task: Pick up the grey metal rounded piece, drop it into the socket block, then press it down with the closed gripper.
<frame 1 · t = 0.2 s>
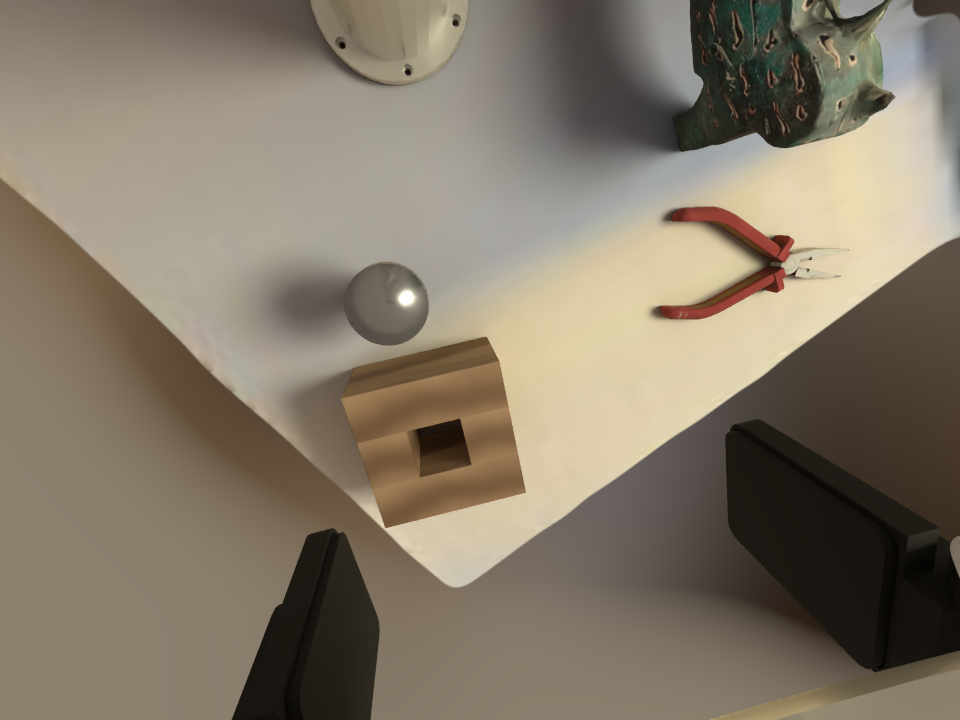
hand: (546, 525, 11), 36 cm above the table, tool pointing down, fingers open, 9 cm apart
socket block: (436, 411, 48), on the table
pliers: (735, 276, 48), on the table
ceramic cat: (673, 53, 40), on the table
grey metal rounded piece: (393, 288, 44), on the table
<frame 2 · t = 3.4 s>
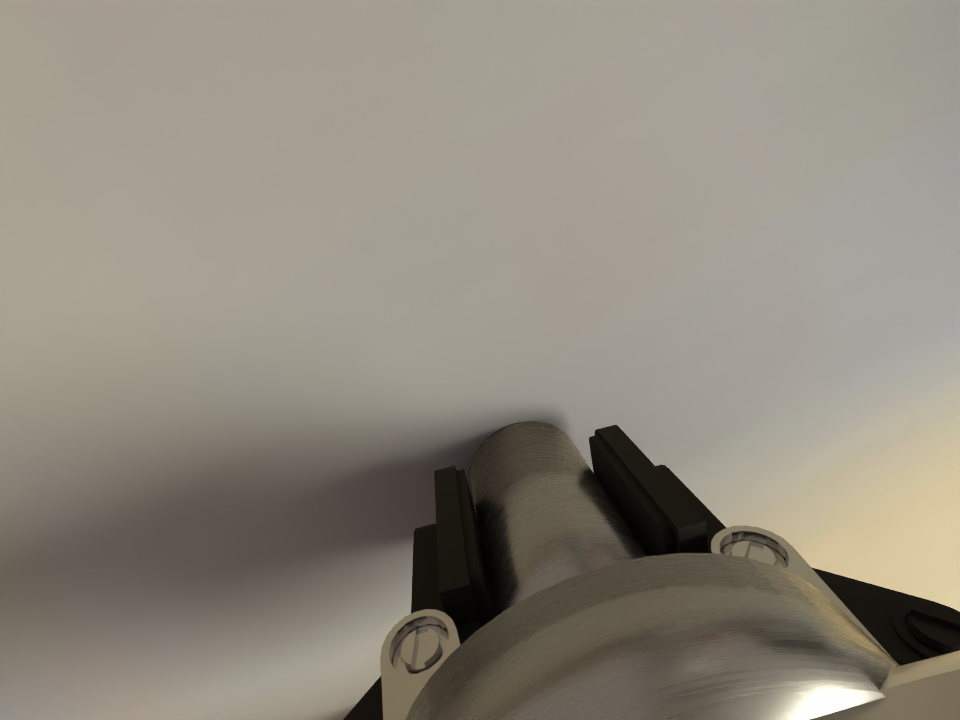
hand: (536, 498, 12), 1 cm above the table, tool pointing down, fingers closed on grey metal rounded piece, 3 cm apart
grey metal rounded piece: (525, 472, 13), on the table, touching gripper
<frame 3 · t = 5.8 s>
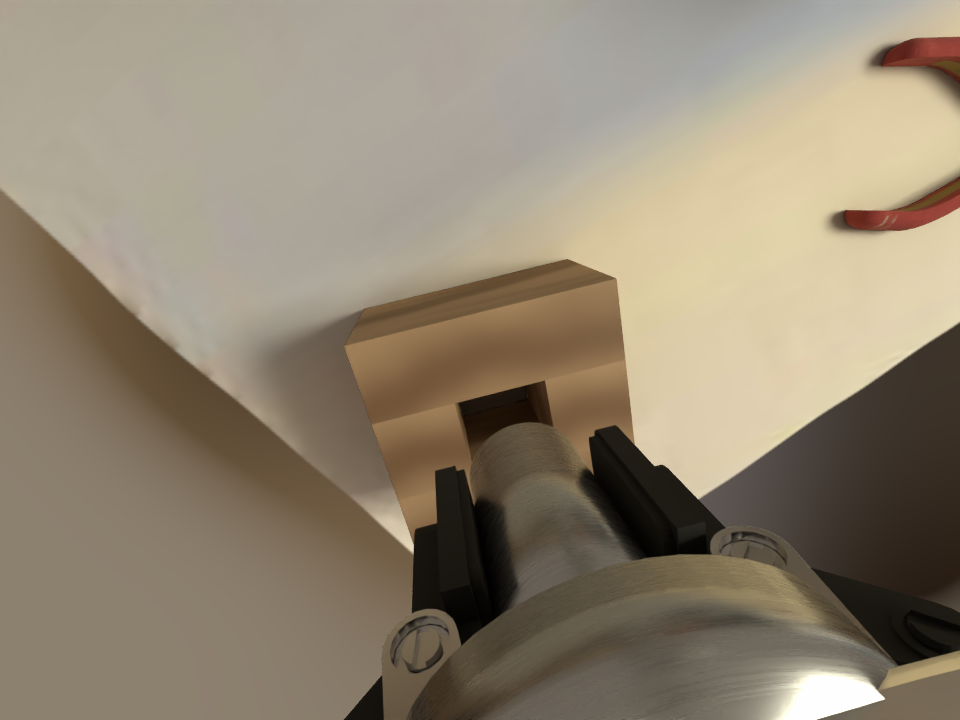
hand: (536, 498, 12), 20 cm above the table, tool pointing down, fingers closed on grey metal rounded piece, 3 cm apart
socket block: (488, 378, 32), on the table
pliers: (956, 166, 32), on the table
grey metal rounded piece: (525, 473, 13), point 19 cm above the table, touching gripper
when the fingers open (10 cm above the table, at t = 8.1 s): grey metal rounded piece stays where it is, point 8 cm above the table.
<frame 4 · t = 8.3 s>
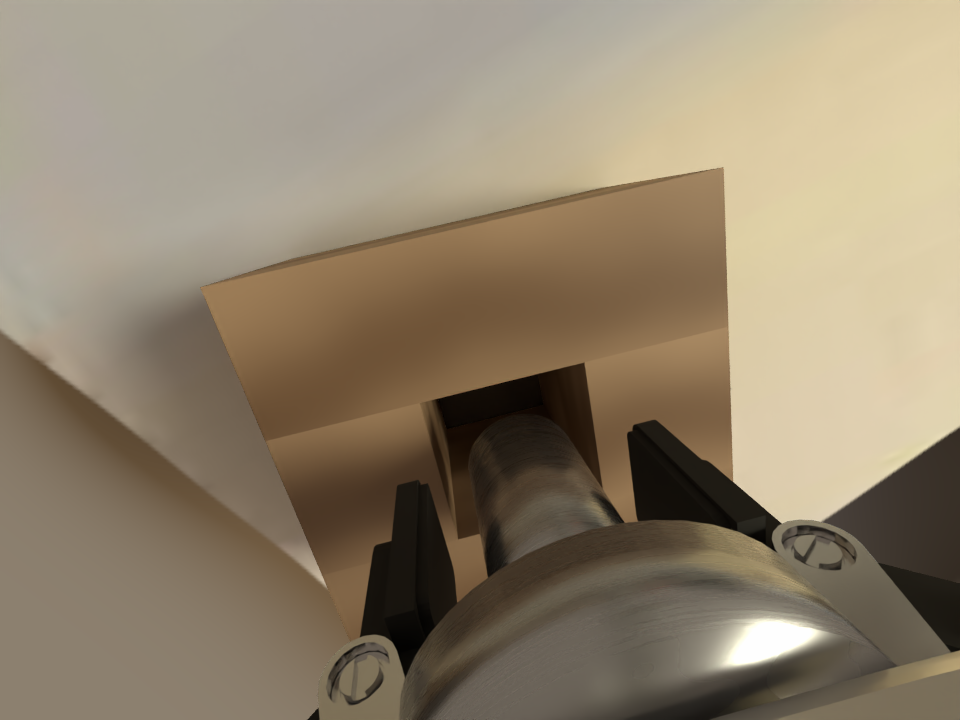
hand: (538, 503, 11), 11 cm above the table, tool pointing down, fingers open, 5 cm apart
socket block: (484, 371, 21), on the table
grey metal rounded piece: (521, 462, 13), point 8 cm above the table, touching gripper
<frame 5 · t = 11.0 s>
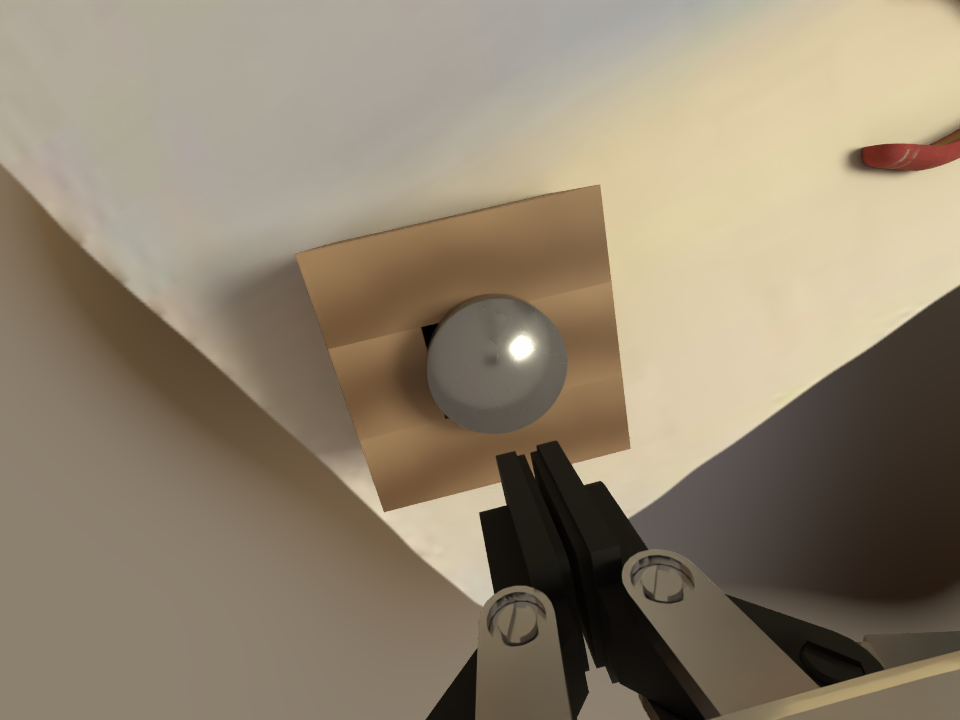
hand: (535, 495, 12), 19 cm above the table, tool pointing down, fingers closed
socket block: (467, 325, 30), on the table
grey metal rounded piece: (477, 326, 29), point 1 cm above the table, touching socket block
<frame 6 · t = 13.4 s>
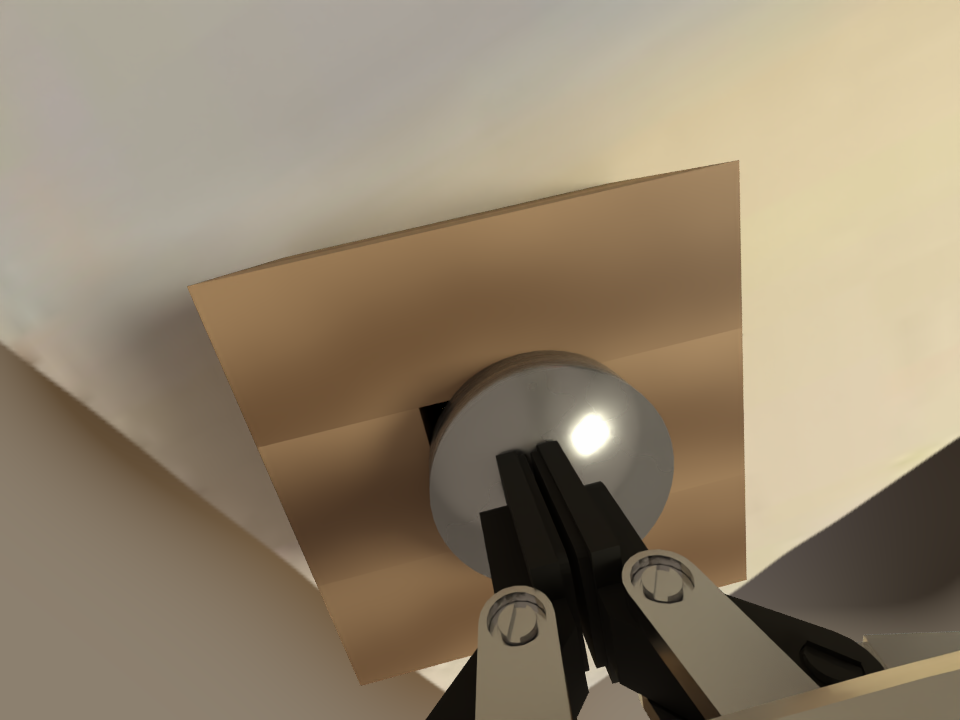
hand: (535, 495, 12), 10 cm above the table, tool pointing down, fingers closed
socket block: (486, 372, 21), on the table
grey metal rounded piece: (501, 376, 20), point 1 cm above the table, touching gripper, socket block
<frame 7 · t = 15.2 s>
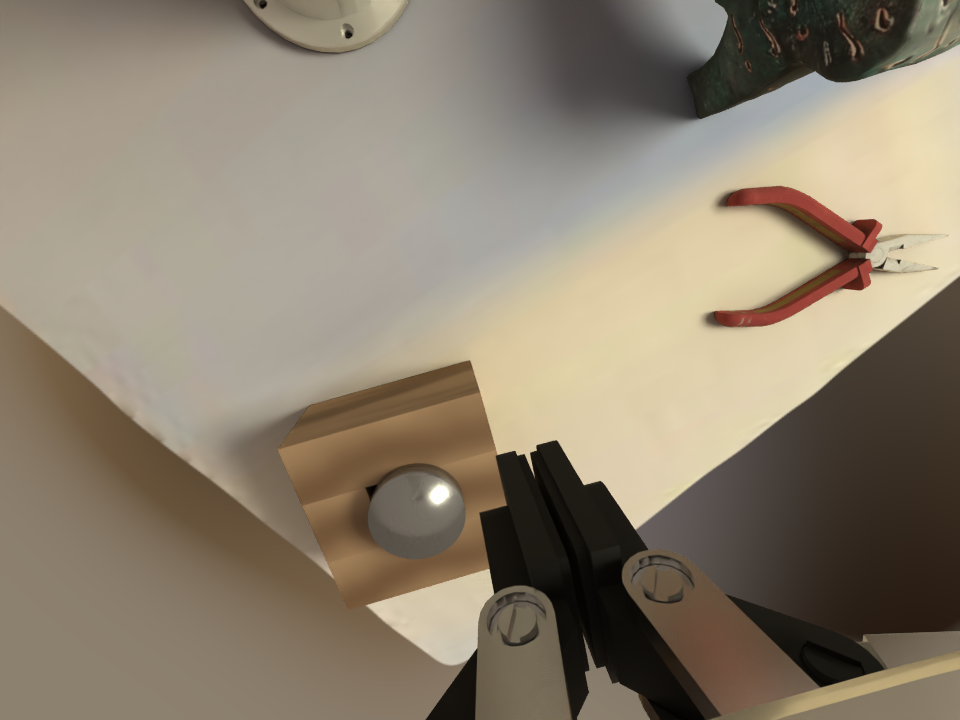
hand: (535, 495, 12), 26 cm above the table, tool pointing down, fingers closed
socket block: (414, 454, 39), on the table
pliers: (805, 272, 39), on the table
grey metal rounded piece: (420, 457, 38), point 1 cm above the table, touching socket block
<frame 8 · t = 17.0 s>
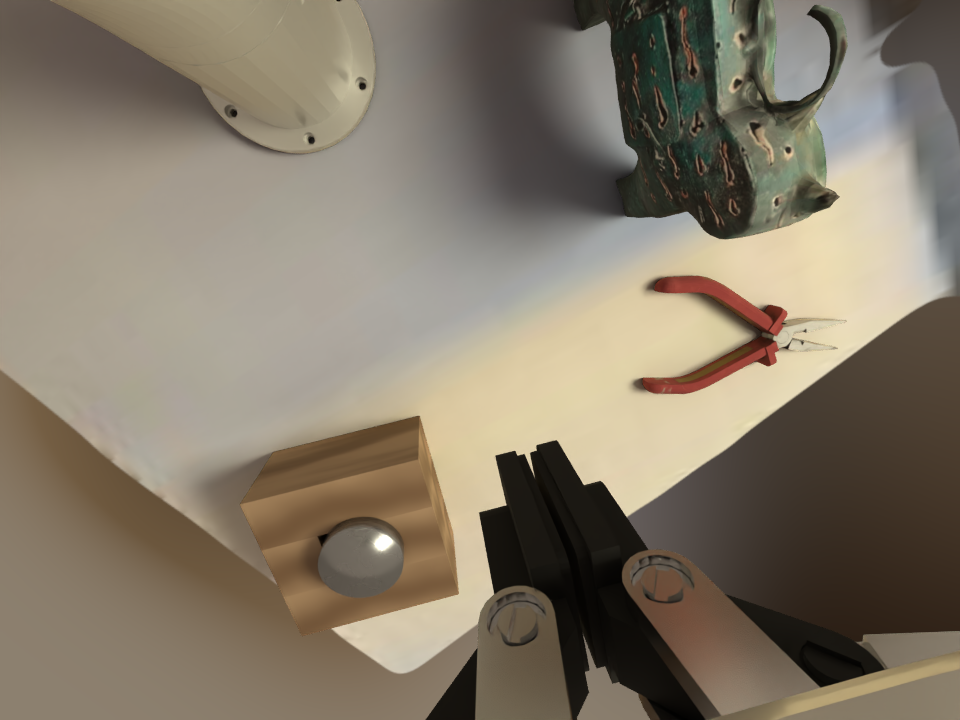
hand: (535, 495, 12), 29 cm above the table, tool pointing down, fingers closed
socket block: (368, 494, 44), on the table
pliers: (724, 346, 45), on the table
ceramic cat: (613, 112, 36), on the table
grey metal rounded piece: (372, 499, 43), point 1 cm above the table, touching socket block
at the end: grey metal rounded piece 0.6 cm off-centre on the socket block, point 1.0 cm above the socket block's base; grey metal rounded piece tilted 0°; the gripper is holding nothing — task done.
